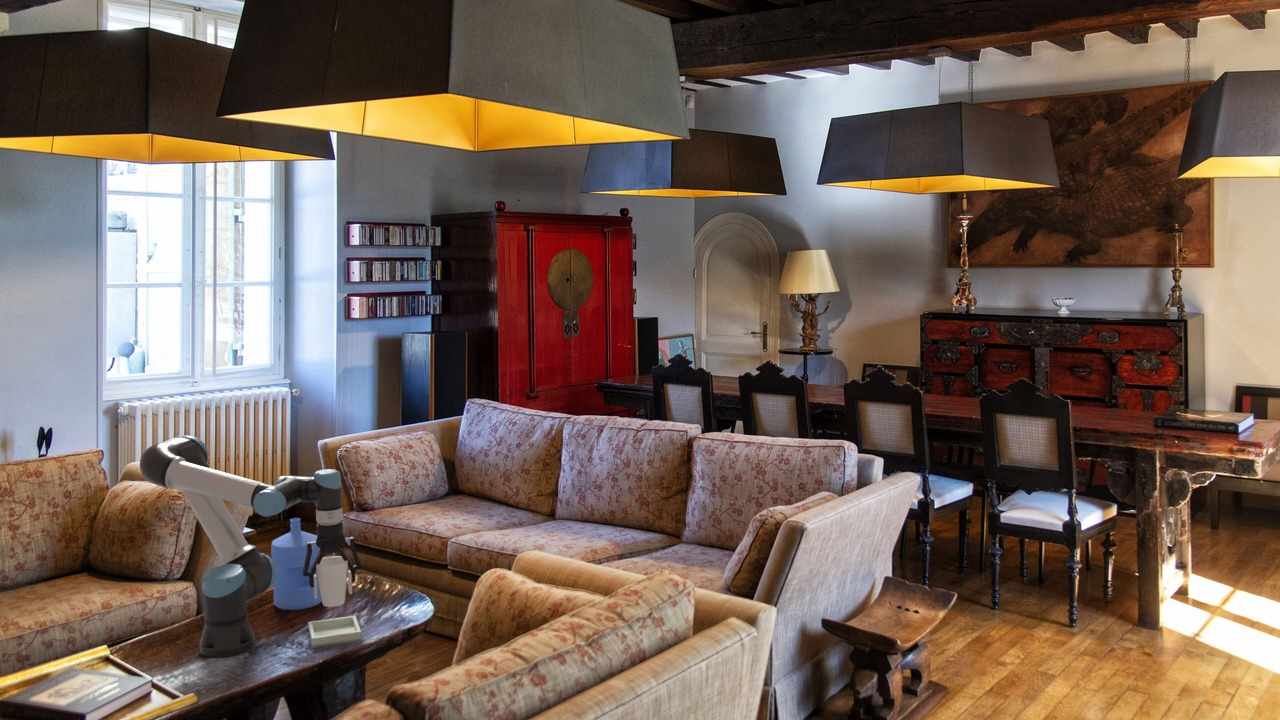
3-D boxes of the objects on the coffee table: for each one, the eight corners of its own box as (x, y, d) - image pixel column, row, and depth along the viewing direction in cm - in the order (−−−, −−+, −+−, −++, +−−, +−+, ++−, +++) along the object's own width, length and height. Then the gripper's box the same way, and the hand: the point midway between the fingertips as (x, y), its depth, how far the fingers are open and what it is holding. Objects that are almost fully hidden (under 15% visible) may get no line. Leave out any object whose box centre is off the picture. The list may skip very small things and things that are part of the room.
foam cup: (344, 608, 313) (342, 566, 311) (313, 608, 313) (310, 566, 311) (353, 597, 322) (351, 556, 321) (323, 597, 323) (321, 556, 321)
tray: (312, 648, 310) (311, 638, 310) (308, 631, 323) (308, 621, 323) (361, 641, 315) (361, 631, 315) (355, 624, 328) (355, 615, 328)
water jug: (263, 607, 343) (258, 523, 340) (296, 591, 358) (292, 510, 354) (301, 613, 337) (297, 528, 334) (334, 597, 352) (330, 515, 348)
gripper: (291, 529, 307) (295, 604, 310) (369, 521, 315) (372, 593, 318) (290, 522, 314) (293, 595, 317) (366, 514, 322) (369, 586, 325)
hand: (333, 594), depth 317 cm, fingers closed on foam cup, 9 cm apart
